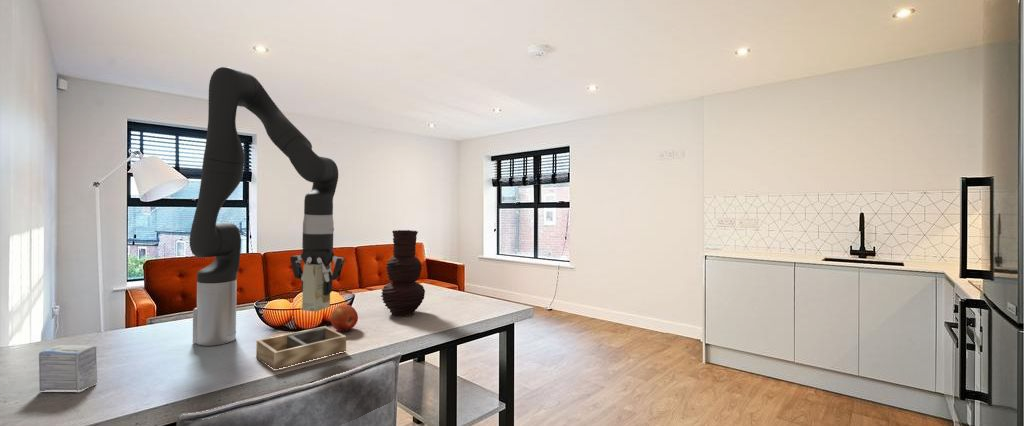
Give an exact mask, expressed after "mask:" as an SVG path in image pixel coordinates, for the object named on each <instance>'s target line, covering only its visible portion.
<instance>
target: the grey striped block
mask: <svg viewBox="0 0 1024 426" xmlns="http://www.w3.org/2000/svg"><path fill="white" fill-rule="evenodd" d="M97 357H98V356H97V346H96V345H81V344H79V345H76V344H72V345H71V344H69V345H68V344H67V345H66V344H60V345H55V346H52V347H50V348H47V349H45V350H42V351H39V352H38V374H39V375H38V378H39V379H38V380H39V381H38V382H39V383H38V384H39V386H38V387H39V388H38V389H39V392H40V391H45V390H77V391H78V390H82V389H85V388H87V387H90V386H92V385H94V384H96V383H97V384H98V369H97V368H98V367H97V366H98V365H97ZM97 384H96V385H97ZM92 387H93V386H92Z"/></svg>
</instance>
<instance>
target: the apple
mask: <svg viewBox="0 0 1024 426" xmlns="http://www.w3.org/2000/svg"><path fill="white" fill-rule="evenodd" d="M358 315H359V314H358V312H357V311H356V309H355V308H354V307H353V306H351V305H349V304H340V305H338V306H336V307H334V308H333V310H332V312H331V313H330V318H329V320H330V324H331V326H332V327H333V329H334V330H335V331H336V330H337V332H348V331H350V330H352V329H353V328H354V327H355V326H356V325H357V323H358V321H359V316H358Z"/></svg>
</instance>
